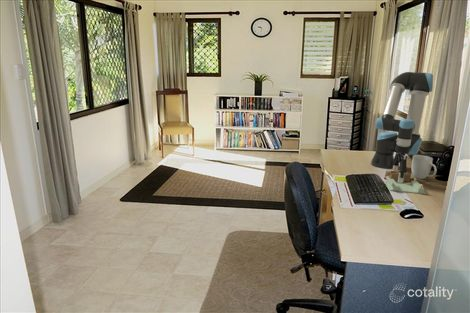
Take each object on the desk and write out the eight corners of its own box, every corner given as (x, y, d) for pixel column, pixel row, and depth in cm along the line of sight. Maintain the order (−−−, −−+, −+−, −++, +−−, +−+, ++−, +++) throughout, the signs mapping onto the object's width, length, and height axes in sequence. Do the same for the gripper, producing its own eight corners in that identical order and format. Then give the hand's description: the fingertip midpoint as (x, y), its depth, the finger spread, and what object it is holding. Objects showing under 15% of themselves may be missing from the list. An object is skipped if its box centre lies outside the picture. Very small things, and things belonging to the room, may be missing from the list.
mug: (438, 180, 217) (443, 159, 213) (429, 183, 211) (433, 162, 207) (415, 173, 228) (419, 154, 225) (405, 175, 223) (409, 156, 219)
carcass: (384, 183, 208) (385, 174, 206) (418, 186, 205) (420, 178, 203) (389, 190, 195) (391, 182, 194) (426, 194, 192) (428, 185, 191)
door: (384, 178, 217) (386, 169, 215) (403, 178, 219) (405, 169, 218) (390, 181, 211) (392, 172, 210) (409, 181, 214) (411, 172, 212)
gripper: (391, 140, 222) (385, 172, 227) (402, 149, 198) (396, 185, 203) (403, 141, 221) (398, 173, 226) (416, 150, 197) (409, 186, 202)
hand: (397, 179), depth 215 cm, fingers open, 13 cm apart
